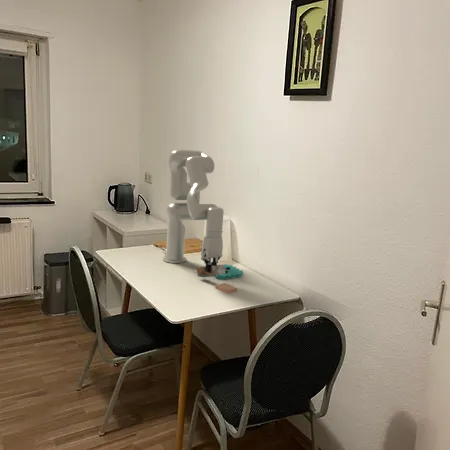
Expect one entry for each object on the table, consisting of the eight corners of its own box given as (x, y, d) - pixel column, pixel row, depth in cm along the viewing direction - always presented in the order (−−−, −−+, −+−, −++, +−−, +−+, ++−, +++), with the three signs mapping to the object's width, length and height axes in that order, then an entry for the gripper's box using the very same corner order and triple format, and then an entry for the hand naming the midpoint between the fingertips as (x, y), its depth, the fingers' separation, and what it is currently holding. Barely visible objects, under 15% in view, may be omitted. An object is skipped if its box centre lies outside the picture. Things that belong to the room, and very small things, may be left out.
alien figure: (198, 276, 225) (238, 282, 221) (198, 272, 224) (238, 278, 221) (207, 265, 244) (244, 271, 241) (208, 261, 244) (244, 267, 240)
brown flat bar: (197, 275, 220) (196, 267, 220) (202, 274, 222) (201, 266, 222) (220, 274, 208) (219, 265, 208) (225, 273, 211) (224, 264, 211)
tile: (215, 285, 209) (228, 290, 204) (224, 282, 214) (237, 287, 208) (215, 289, 210) (227, 294, 204) (224, 286, 214) (236, 291, 209)
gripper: (220, 230, 220) (217, 266, 223) (195, 233, 208) (192, 272, 212) (231, 233, 215) (228, 270, 218) (206, 237, 203) (203, 276, 207)
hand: (210, 271), depth 215 cm, fingers closed on brown flat bar, 3 cm apart
